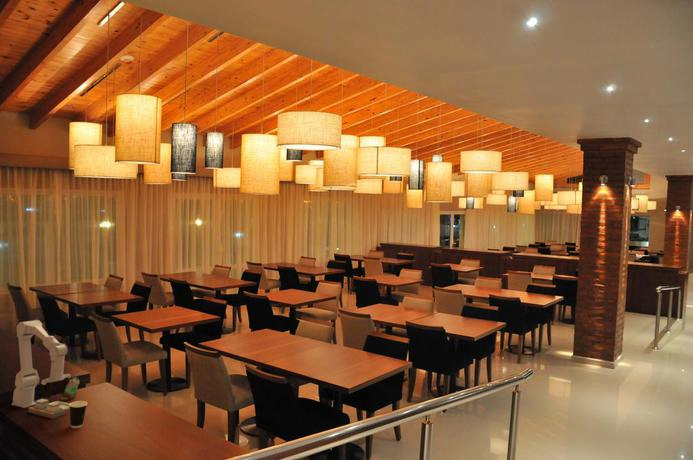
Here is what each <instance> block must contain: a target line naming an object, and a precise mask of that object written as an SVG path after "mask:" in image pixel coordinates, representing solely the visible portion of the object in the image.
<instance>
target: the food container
mask: <svg viewBox="0 0 693 460" xmlns="http://www.w3.org/2000/svg"><path fill="white" fill-rule="evenodd" d="M79 384H80V380H79V378H78V377H76V376H72V378H70V382H69V383H68V385H67V387H66V389H65V392H64V394H62V393H60V394H61V395H60V400H61V401H69V400H73V399H75V398H76V397H77V394H78V393H77V392H78V387H79Z"/></svg>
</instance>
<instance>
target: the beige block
mask: <svg viewBox="0 0 693 460" xmlns="http://www.w3.org/2000/svg"><path fill="white" fill-rule="evenodd" d="M34 402H35V403H36V404H34V406H35V409H39V410H42V409H45V408H47V404H49V399H45V398H41V399H38V400H35V401H34Z"/></svg>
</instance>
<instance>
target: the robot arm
mask: <svg viewBox="0 0 693 460" xmlns="http://www.w3.org/2000/svg"><path fill="white" fill-rule="evenodd" d="M34 335H36V337H38V338H39V339H40V340H41V341H42V345H43V346H44V347H45V348H46V349H47V350H48V351H49V353H48V354H49V356H50V361H51V365H50V375H49V377H47V378H45V379H43V380H41V386H42V388H43V390H44V393H45V397H46V398H48V399H50V398H51V394H52V389H53V386H54V384H51V383H54V382H58V381H59V393H60V394H61V393H62V394H64V392H65V389H66V387H67V385H68V383H69V382H70V380H71V375H72V374H71V373H64V372H65V371H64V368H65V360H66V359H65V356H67V354H68V352H69V349H68V346H67V345H66V343H61V342H59V340H57V338H55V336H54V335H49V334H48V333H47V332H46V330H45V328H43V323H42V321H40V320H39V319H34V320H28V321H20V322H19V323H18V324H17V326H16V336H17V337H16V338H18V349H19V351H18V352H19V360H20V371H19V372H17V373H16V375H15V381H14V385H15V389H14V390H13V396H12V403H10V404H11V405H12V406H16V407H20V408H23V409H24V408H29V407H30V406H31V407H32V406H35V404H36V403H35V402H36V401H35V389H36V387H37V386H38V385H39V383H40V376H39V374H38V373H39V372H38V370H36V369H35V368H33V367H34V366H33V357H32V355H33V354H32V345H31V344H32V342H31V339H32V338H33V336H34Z"/></svg>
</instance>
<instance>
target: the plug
mask: <svg viewBox="0 0 693 460" xmlns="http://www.w3.org/2000/svg"><path fill="white" fill-rule="evenodd" d="M57 411H60V403H58V402H55V401H53V402H50V403H49V402H48V404H47V412H51V413H55V412H57Z"/></svg>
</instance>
